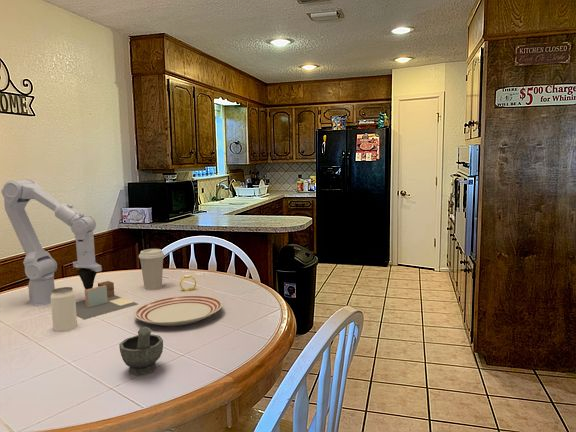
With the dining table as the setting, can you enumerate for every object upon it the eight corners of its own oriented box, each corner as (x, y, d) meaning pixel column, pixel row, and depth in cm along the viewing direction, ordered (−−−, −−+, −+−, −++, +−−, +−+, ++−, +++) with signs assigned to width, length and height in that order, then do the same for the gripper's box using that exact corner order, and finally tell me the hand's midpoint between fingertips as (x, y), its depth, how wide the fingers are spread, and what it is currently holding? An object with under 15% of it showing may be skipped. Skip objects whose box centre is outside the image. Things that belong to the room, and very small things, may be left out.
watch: (181, 292, 167) (179, 277, 166) (180, 290, 170) (178, 275, 169) (197, 290, 169) (195, 275, 168) (196, 288, 172) (194, 273, 171)
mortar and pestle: (119, 366, 107) (115, 318, 105) (158, 357, 111) (155, 311, 110) (126, 386, 97) (123, 334, 96) (169, 375, 102) (166, 325, 100)
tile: (85, 307, 151) (84, 289, 150) (105, 301, 156) (104, 285, 155) (88, 308, 149) (86, 290, 149) (108, 302, 155) (106, 286, 154)
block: (98, 296, 162) (97, 283, 162) (109, 293, 165) (108, 280, 165) (104, 298, 160) (103, 285, 159) (114, 295, 163) (113, 282, 162)
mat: (57, 307, 151) (57, 306, 151) (110, 294, 166) (110, 293, 166) (84, 320, 138) (84, 319, 138) (139, 305, 153) (139, 303, 153)
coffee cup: (155, 283, 179) (153, 247, 177) (171, 287, 174) (169, 249, 172) (135, 289, 172) (133, 251, 170) (150, 293, 166) (148, 254, 164)
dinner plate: (118, 318, 141) (117, 308, 141) (190, 297, 161) (190, 288, 160) (165, 340, 122) (164, 329, 122) (240, 314, 142) (239, 304, 142)
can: (67, 333, 128) (64, 293, 127) (48, 332, 130) (44, 292, 128) (82, 325, 135) (79, 287, 133) (63, 324, 136) (60, 286, 135)
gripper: (63, 251, 155) (66, 288, 156) (86, 255, 147) (90, 295, 148) (82, 247, 161) (85, 284, 162) (105, 251, 152) (108, 289, 154)
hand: (88, 289), depth 156 cm, fingers closed
